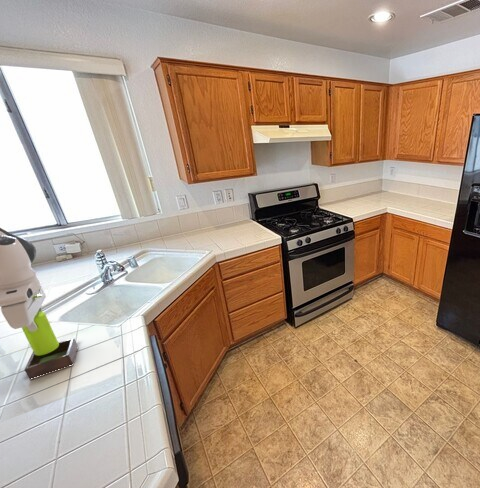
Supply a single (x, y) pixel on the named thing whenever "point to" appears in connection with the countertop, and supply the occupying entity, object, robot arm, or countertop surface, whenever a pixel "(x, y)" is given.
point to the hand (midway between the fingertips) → (37, 324)
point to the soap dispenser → (41, 334)
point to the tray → (52, 359)
